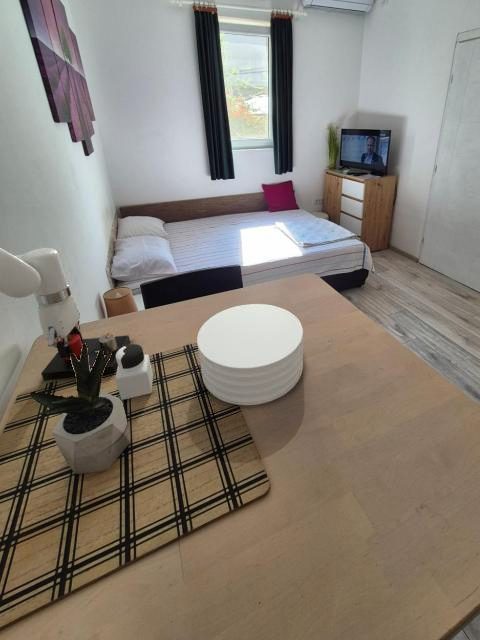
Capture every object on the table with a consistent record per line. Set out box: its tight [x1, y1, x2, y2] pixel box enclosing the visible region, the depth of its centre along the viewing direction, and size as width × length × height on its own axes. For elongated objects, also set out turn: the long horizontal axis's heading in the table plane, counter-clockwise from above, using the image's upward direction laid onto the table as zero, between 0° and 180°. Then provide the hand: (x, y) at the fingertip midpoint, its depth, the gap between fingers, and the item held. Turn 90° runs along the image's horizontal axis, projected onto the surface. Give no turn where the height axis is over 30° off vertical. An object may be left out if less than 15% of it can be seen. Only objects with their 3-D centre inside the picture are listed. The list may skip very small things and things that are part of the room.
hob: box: [40, 334, 131, 381], centre depth 94 cm, size 19×14×3 cm
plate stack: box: [196, 303, 304, 406], centre depth 89 cm, size 28×28×12 cm
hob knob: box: [98, 332, 118, 355], centre depth 93 cm, size 4×4×5 cm
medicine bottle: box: [115, 343, 154, 401], centre depth 82 cm, size 7×7×12 cm
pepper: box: [59, 334, 82, 360], centre depth 92 cm, size 5×5×7 cm
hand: (72, 349), depth 92 cm, fingers closed on pepper, 5 cm apart
